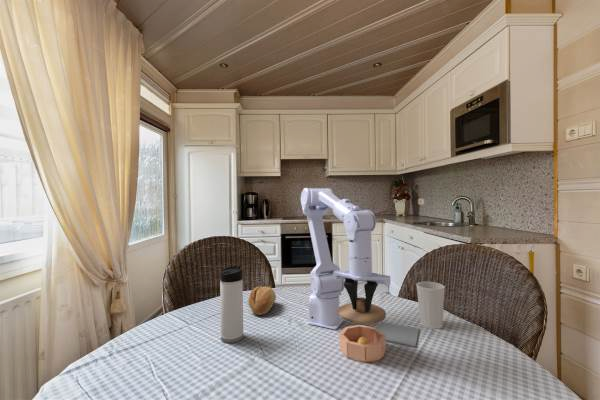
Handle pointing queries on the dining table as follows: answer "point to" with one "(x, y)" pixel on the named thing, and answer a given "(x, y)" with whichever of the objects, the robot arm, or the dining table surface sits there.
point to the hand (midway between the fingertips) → (361, 309)
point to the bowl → (361, 351)
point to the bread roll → (261, 299)
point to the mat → (399, 334)
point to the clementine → (363, 340)
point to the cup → (431, 304)
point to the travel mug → (231, 304)
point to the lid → (361, 312)
